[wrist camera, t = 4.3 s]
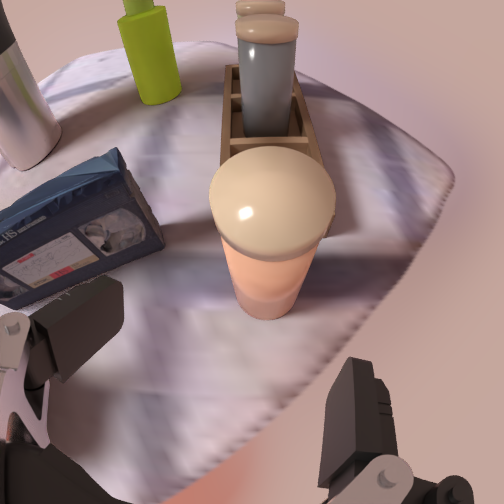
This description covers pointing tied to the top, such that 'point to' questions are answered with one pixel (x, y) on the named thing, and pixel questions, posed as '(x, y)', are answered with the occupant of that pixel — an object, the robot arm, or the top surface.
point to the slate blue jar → (266, 72)
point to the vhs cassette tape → (74, 230)
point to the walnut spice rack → (236, 142)
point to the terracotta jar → (270, 224)
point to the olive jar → (259, 7)
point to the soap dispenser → (150, 51)
